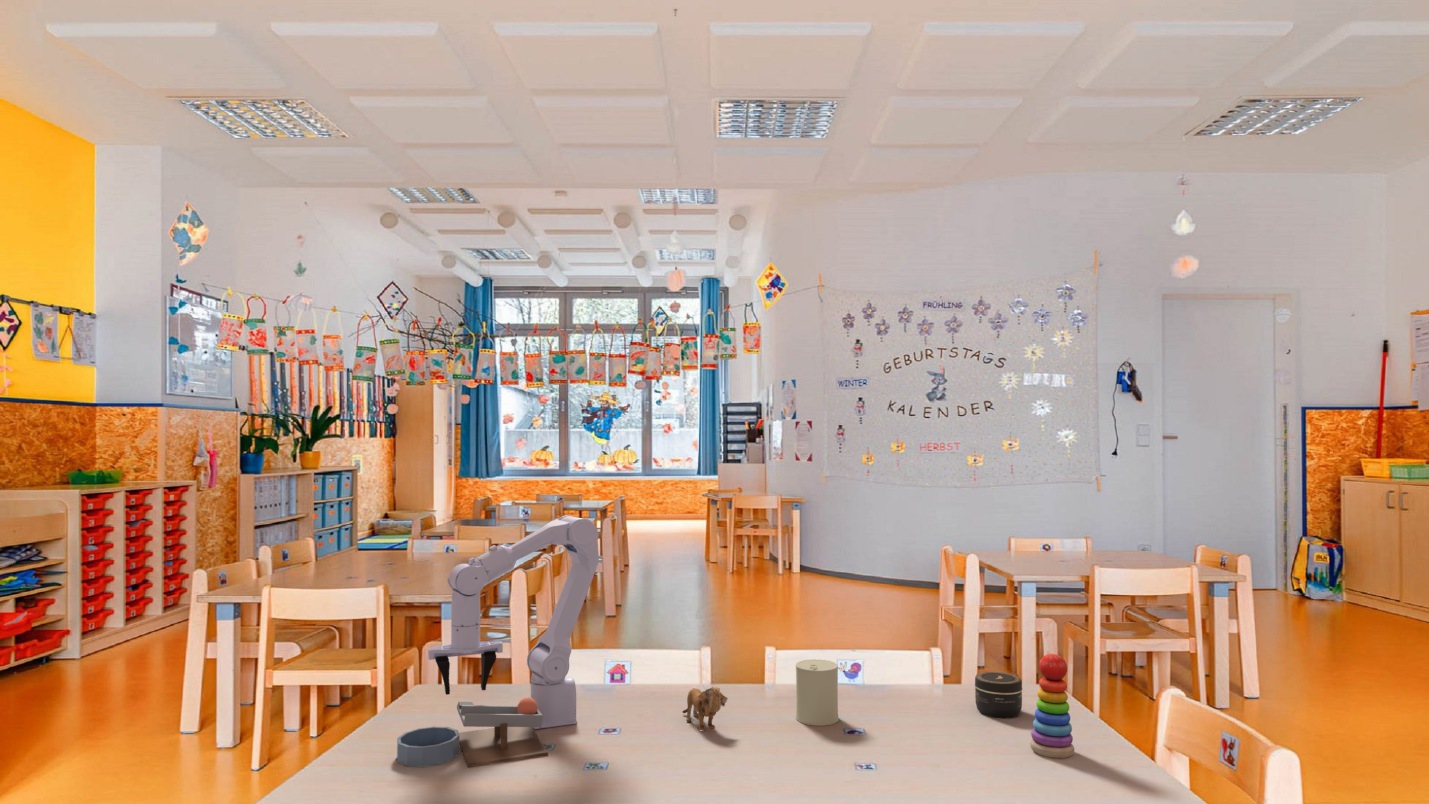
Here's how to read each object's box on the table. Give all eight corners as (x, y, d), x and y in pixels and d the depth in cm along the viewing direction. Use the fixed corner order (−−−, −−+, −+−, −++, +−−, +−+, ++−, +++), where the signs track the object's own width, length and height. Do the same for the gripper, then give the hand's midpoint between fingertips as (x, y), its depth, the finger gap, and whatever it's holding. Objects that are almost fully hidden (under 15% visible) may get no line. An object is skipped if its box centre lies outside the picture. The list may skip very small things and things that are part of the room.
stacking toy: (1054, 762, 162) (1052, 661, 163) (1021, 748, 170) (1019, 651, 170) (1083, 755, 166) (1081, 656, 167) (1050, 741, 173) (1048, 647, 174)
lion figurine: (730, 731, 180) (730, 687, 180) (709, 736, 177) (709, 692, 177) (692, 712, 192) (692, 671, 192) (671, 717, 189) (671, 675, 189)
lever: (529, 709, 183) (530, 698, 184) (541, 726, 172) (542, 715, 173) (456, 708, 178) (458, 696, 178) (463, 726, 167) (465, 714, 167)
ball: (533, 715, 177) (536, 695, 177) (537, 721, 173) (541, 701, 174) (513, 714, 175) (517, 694, 176) (517, 720, 172) (521, 700, 172)
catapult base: (529, 725, 183) (530, 700, 184) (547, 755, 167) (548, 727, 167) (456, 735, 178) (456, 709, 178) (467, 767, 161) (467, 738, 161)
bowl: (455, 741, 174) (455, 723, 174) (461, 761, 164) (461, 742, 164) (395, 749, 170) (395, 731, 170) (398, 770, 160) (399, 750, 160)
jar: (1018, 706, 196) (1018, 671, 196) (1026, 720, 186) (1026, 684, 186) (972, 703, 197) (972, 669, 198) (978, 718, 188) (977, 682, 188)
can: (790, 722, 185) (790, 665, 185) (802, 709, 194) (802, 655, 194) (832, 728, 182) (832, 670, 182) (843, 714, 190) (842, 659, 191)
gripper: (430, 631, 171) (429, 700, 170) (505, 624, 176) (504, 692, 176) (427, 623, 177) (426, 691, 177) (499, 617, 183) (499, 682, 183)
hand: (465, 691), depth 177 cm, fingers open, 6 cm apart
